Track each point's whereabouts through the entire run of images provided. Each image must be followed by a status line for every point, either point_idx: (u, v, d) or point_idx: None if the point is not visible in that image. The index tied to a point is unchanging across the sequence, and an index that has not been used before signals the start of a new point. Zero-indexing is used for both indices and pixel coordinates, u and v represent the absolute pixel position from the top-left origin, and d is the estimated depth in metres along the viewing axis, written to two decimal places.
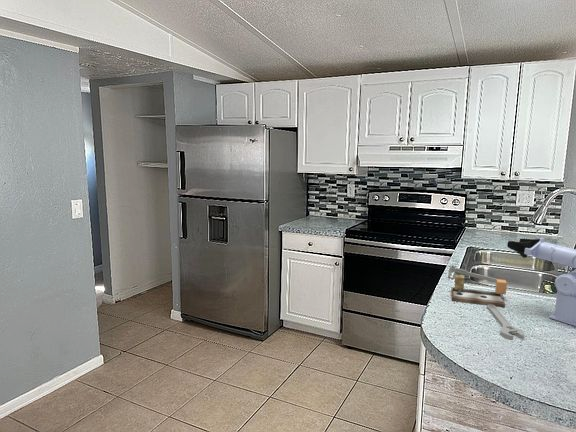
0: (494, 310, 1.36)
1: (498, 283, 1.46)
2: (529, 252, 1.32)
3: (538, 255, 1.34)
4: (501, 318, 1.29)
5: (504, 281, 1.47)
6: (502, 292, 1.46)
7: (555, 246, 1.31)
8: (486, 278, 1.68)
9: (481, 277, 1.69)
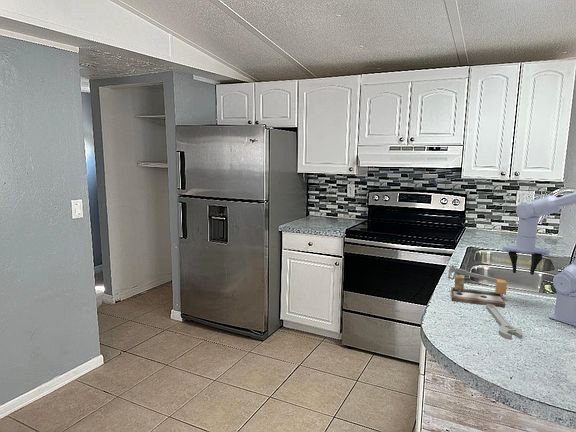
0: (493, 310, 1.36)
1: (498, 283, 1.46)
2: (502, 247, 1.46)
3: (518, 247, 1.43)
4: (500, 318, 1.29)
5: (504, 281, 1.47)
6: (502, 292, 1.46)
7: None
8: (486, 278, 1.68)
9: (481, 277, 1.69)
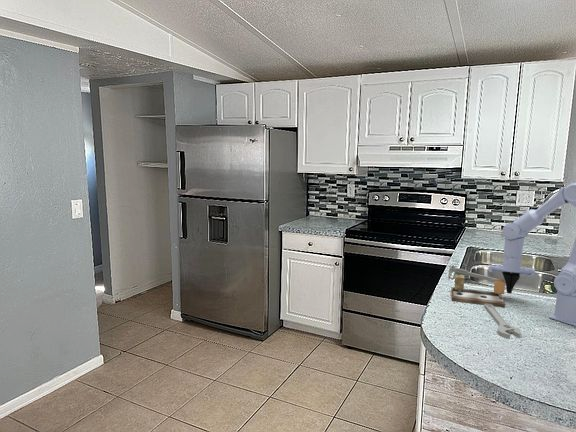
0: (491, 309, 1.37)
1: (496, 283, 1.47)
2: (489, 266, 1.48)
3: (504, 267, 1.45)
4: (498, 317, 1.30)
5: (502, 281, 1.47)
6: (500, 292, 1.47)
7: None
8: (486, 278, 1.68)
9: (481, 277, 1.69)
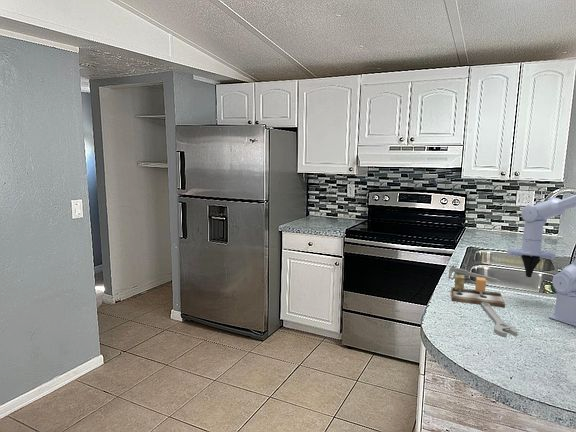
0: (488, 308, 1.38)
1: (477, 281, 1.49)
2: (507, 250, 1.45)
3: (524, 250, 1.42)
4: (495, 316, 1.31)
5: (483, 279, 1.49)
6: (481, 290, 1.49)
7: None
8: (486, 278, 1.68)
9: (481, 277, 1.69)
